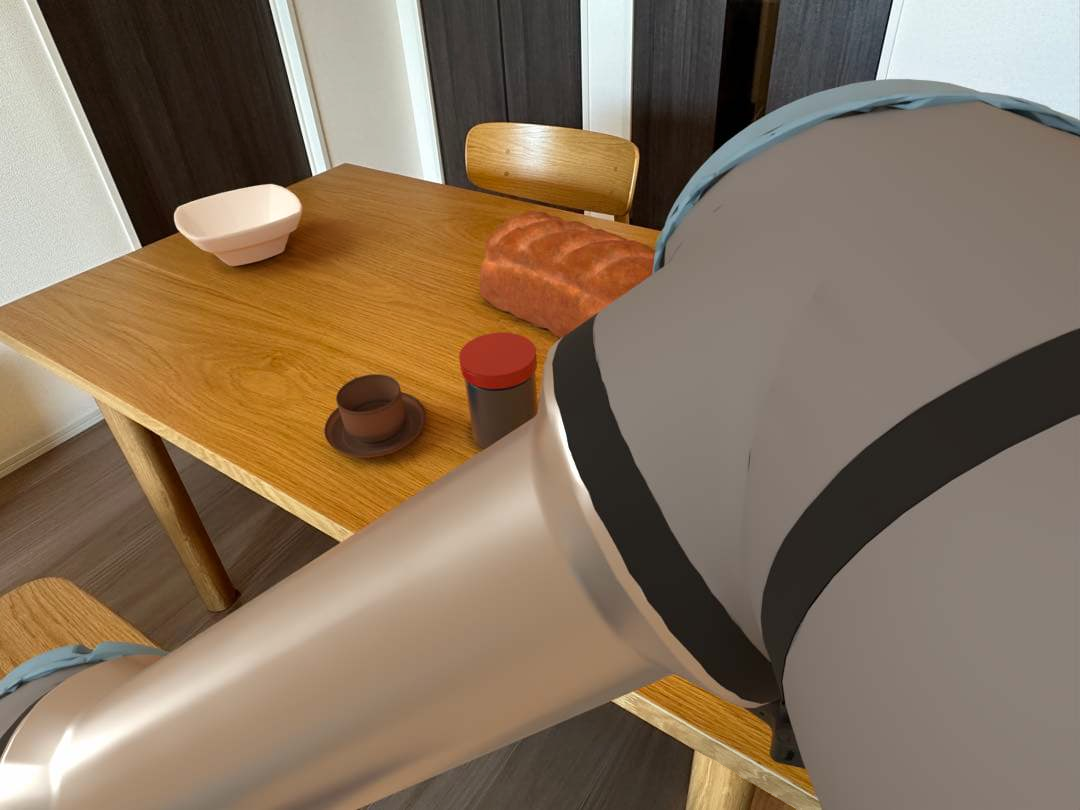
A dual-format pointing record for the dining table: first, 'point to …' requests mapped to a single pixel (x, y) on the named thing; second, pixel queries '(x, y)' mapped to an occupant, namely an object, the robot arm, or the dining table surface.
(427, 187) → the dining table surface
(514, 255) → the bread
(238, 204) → the bowl
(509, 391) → the jar
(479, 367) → the jar lid
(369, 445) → the cup and saucer
